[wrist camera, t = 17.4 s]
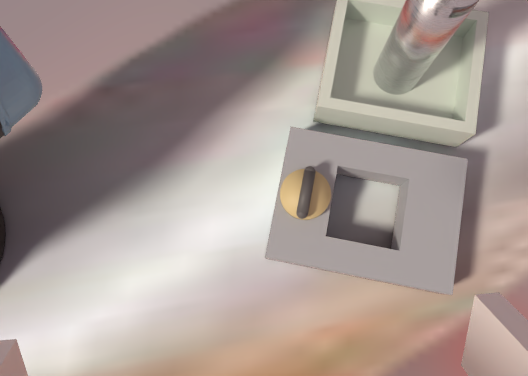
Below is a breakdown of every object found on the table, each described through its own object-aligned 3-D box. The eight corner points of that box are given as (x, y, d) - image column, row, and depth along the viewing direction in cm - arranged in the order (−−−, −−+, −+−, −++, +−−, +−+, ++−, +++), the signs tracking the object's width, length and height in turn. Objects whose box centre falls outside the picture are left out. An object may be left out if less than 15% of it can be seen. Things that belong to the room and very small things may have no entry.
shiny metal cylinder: (370, 90, 42) (417, 0, 28) (376, 49, 42) (425, -58, 29) (415, 98, 41) (485, 11, 28) (421, 57, 42) (492, -48, 28)
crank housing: (265, 258, 40) (264, 256, 35) (289, 136, 42) (291, 119, 37) (439, 293, 39) (462, 296, 34) (454, 166, 41) (478, 152, 36)
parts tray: (313, 121, 42) (317, 105, 38) (333, 13, 44) (339, -12, 40) (456, 147, 41) (475, 134, 37) (469, 35, 44) (489, 12, 40)
